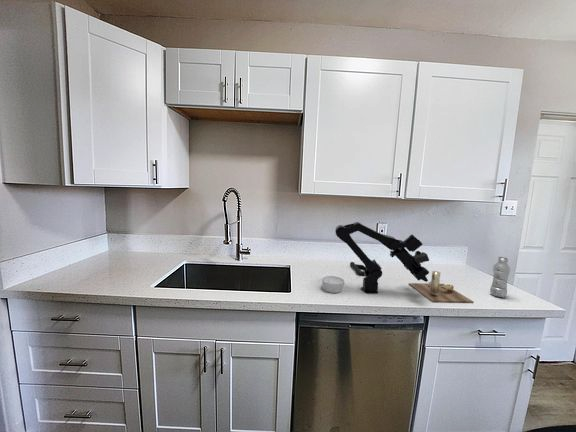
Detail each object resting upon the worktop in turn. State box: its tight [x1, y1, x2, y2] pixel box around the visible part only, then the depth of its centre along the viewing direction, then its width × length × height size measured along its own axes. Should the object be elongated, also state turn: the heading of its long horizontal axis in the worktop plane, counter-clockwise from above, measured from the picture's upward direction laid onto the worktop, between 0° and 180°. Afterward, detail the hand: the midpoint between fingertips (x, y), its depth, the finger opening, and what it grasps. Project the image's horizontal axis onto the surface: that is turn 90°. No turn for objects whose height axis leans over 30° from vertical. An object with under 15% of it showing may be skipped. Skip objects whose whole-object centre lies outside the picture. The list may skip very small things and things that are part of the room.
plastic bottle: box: [489, 256, 511, 299], centre depth 123 cm, size 6×7×20 cm
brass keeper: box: [441, 284, 455, 293], centre depth 125 cm, size 7×3×3 cm, turn 117°
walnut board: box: [408, 282, 475, 304], centre depth 126 cm, size 20×21×1 cm
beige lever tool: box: [427, 270, 441, 295], centre depth 126 cm, size 16×4×11 cm, turn 152°
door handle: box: [349, 261, 367, 277], centre depth 156 cm, size 3×20×16 cm
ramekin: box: [321, 275, 345, 294], centre depth 125 cm, size 11×11×5 cm
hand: (427, 281), depth 121 cm, fingers closed
